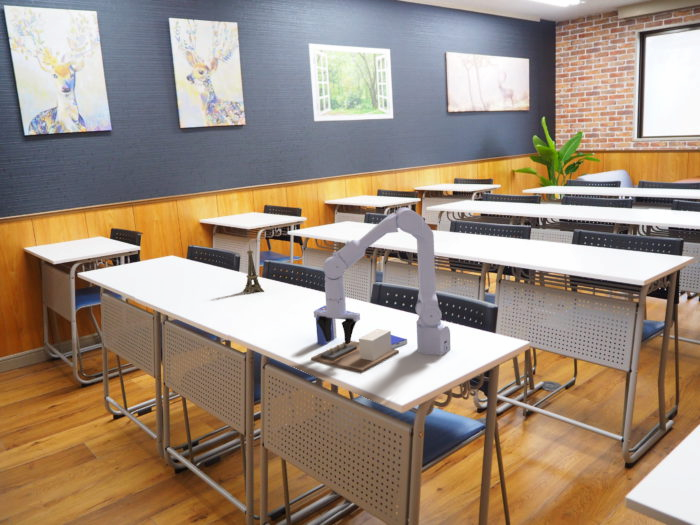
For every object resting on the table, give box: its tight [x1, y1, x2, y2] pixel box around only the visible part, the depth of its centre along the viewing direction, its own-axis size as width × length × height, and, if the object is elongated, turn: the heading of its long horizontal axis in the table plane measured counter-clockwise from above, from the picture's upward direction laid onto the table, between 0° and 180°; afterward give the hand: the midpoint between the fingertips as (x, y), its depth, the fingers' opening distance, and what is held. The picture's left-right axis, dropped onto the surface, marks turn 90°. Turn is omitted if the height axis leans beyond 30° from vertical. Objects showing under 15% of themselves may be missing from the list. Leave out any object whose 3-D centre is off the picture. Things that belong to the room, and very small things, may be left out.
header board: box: [310, 340, 400, 373], centre depth 169 cm, size 19×18×3 cm
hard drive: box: [391, 334, 408, 349], centre depth 180 cm, size 2×8×12 cm
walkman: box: [315, 304, 338, 346], centre depth 183 cm, size 8×3×12 cm, turn 152°
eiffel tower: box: [242, 244, 265, 295], centre depth 247 cm, size 11×11×25 cm
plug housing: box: [358, 328, 392, 361], centre depth 168 cm, size 5×10×6 cm, turn 145°
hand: (338, 342), depth 170 cm, fingers open, 6 cm apart
